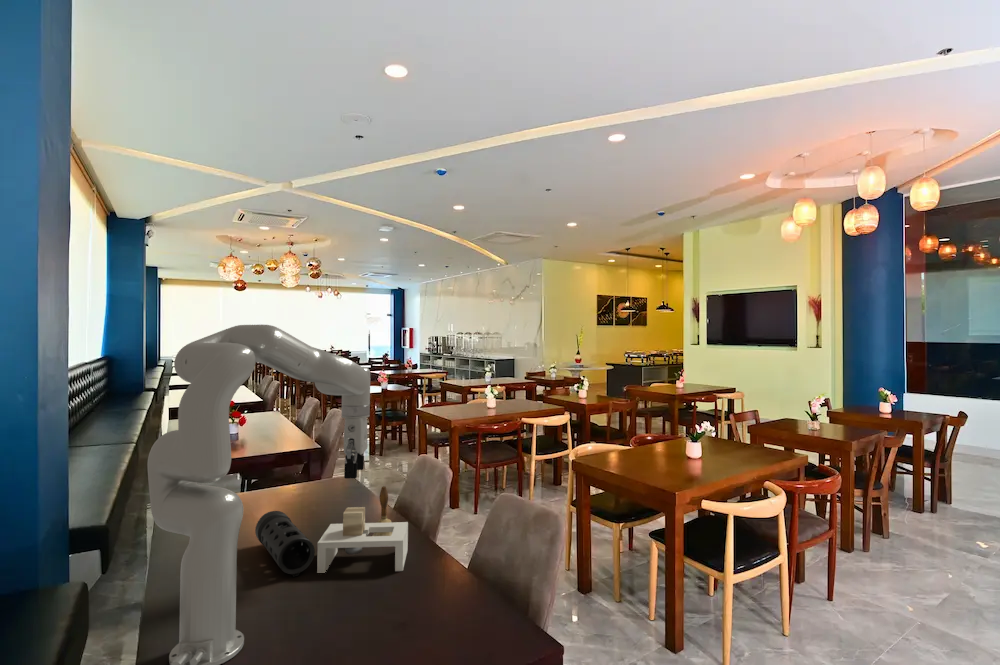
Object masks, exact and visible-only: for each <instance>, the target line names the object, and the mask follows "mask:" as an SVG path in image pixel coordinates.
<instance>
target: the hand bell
mask: <svg viewBox="0 0 1000 665" xmlns="http://www.w3.org/2000/svg"><path fill="white" fill-rule="evenodd" d="M388 501H389V494H388V489H387V486H386V485H383V486H381V489H380V493H379V503H380V506H381V507H380V508H381V511H380V512H381V513H380V514H381V516H380V519H378V520H377V522H376V523H390V522H392V520H391V519H390V518H388V514H387V505H388ZM391 535H392V532H373V534H372V536H391Z"/></svg>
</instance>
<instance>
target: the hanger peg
mask: <svg viewBox="0 0 1000 665" xmlns="http://www.w3.org/2000/svg"><path fill="white" fill-rule="evenodd" d="M365 523H366V507H365V506H362V507H360V506H356V507H355V506H354V507H346V508H345V510H344V511H343V514H342V524H343V536H355V535H362V534H363V532H364V530H365ZM362 552H363V547H355V548H345V554H346V555H357V554H360V553H362Z"/></svg>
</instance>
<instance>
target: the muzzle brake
mask: <svg viewBox="0 0 1000 665" xmlns="http://www.w3.org/2000/svg"><path fill="white" fill-rule="evenodd" d="M254 532H255V538H257V540H258V541H259V543H260V544H262V546H263V547H264V548H265V549H266V551H267V552H268V553H269V555H270V556H271V558H272V559H273V560H274V561H275V563H276V564H277V566H278V567H279V568H280V570H281V571H282V572H283V573H285V574H287V575H288V574H289V575H292V576H293V577H297V576H300V573H302V572H304V571H305V570H306V569H308V568H309V567H310V566H311V564H312V562H313V561H314V558H315V554H316V551H315V545H314V544H313V542H312V541H311V540H310V539H309V538H308V537H307V536H306V535H305V534H304V533H303V532H302V531H301V530H300V529H299V528H298V527H297V526H296V525H295V524H294V523H293V522H292V520H291V518H290V517H289V516H288V515H287V514H286V513H284V512H283V511H279V510H273V511H272V510H271V511H268V512H266V513H264V514H263V515H262V516H261V517H260V518H259V520H258V521H257V523H256V525H255V531H254Z"/></svg>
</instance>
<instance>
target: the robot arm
mask: <svg viewBox="0 0 1000 665" xmlns="http://www.w3.org/2000/svg"><path fill="white" fill-rule="evenodd" d="M256 363H258V364H262V365H265V366H267V367H268V368H271V369H273V370H275V371H278V372H280V374H281V373H282V374H284V375H286V376H288V377H290V378H292V379H295V380H299V381H304V382H311V383H314V387H315V388H316V389H317V391H318V392H320V393H321V394H324V395H328V396H341V412H340V413H341V414H340V415H341V418H343V419H345V420H344V427H343V428H344V429H343V453H344V454H345V457H344V458H345V459H344V470H343V471H344V476H343V477H344V479H357V477H358V471H362V470H364V466H365V464H364V461H365V460H364V458H365V455H364V454H365V452H366V451H367V449H368V418H369V417H370V414H371V412H370V409H371V408H370V407H371V405H370V404H371V401H370V400H371V371H370V369H369V367H365V366H361V365H359V364H358V363H356V362H355V361H353V360H351V359H348V358H346V357H343V356H341V355H339V354H334V353H331V352H329V351H325V350H323V349H320V348H317V347H313V346H311V345H309V344H307V343H305V342H303V341H302V340H301V339H298V338H296V337H295V336H293V335H292V334H290V333H288V332H286V331H285V330H283V329H281V328H280V327H277V326H274V325H271V324H238V325H234V326H231V327H229V328H225V329H222V330H220V331H218V332H214V333H212V334H210V335H207V336H205V337H202V338H199V339H196V340H194V341H191V342H189V343H187V344H185V345H184V346H182V348H181V349H180V350H179V351H178V352H177V354H176V356H175V357H174V362H173V364H174V371H175V373H176V374H177V376H178V377H179V378H181V380H182V381H185V382H187V383H189V385H188V386H187V387H186V389H185V390H184V393H183V394H182V396H181V399H180V400H179V401H180V402H179V405H178V410H177V420H178V422H177V423H178V424H177V426H178V427H177V429H175V430H170V431H168V432H165V433H163V434H162V435H160V436H159V437H158V438H157V439H156V441H155V442H154V443H153V445H152V446H151V449H150V451H149V453H148V457H147V480H148V493H149V503H150V504H149V505H150V512H151V517H152V518H153V522H154V523H155V524H156V526H157V527H158V528H159V529H161V530H163V531H167V532H169V533H175V534H179V535H184V536H187V537H189V540H188V541H189V542H188V544H187V547H186V548H185V551H184V553H183V555H182V557H181V560H180V561H181V562H180V575H179V576H180V580H179V582H180V583H179V586H180V587H179V588H180V589H179V592H180V593H179V631H178V632H179V633H178V636H179V639H178V640H179V641H178V643H177V644H176V645H174V647H173V648H172V649H171V651H170V652H169V655H168V662H169V665H221V664H224V663H227V662H228V661H229V660H231V659H232V658H234V657H235V656H236V655H237V654H239V652H240V651H241V650H242V649H243V647H244V645H245V635H244V633H242V632H241V631H240V630H238V629H236V628H237V627H236V626H237V624H236V620H237V617H236V616H237V573H238V572H237V570H238V569H237V568H238V566H237V560H238V559H237V558H238V541H239V535H240V531H241V525H242V523H243V522H242V521H243V517H244V505H243V504H244V503H243V501H242V499H241V498H240V496H239V495H238V494H237V493H236V492H235V491H233V490H231V489H228V488H225V487H221V486H214V485H208V483H209V484H210V483H214V482H215V483H216V482H218V481H220V480H222V479H223V478H225V477H226V475H227V474H228V473H229V471H230V469H231V464H232V447H231V445H232V443H231V431H230V430H231V429H230V405H231V402H232V400H233V398H234V396H235V394H236V393H237V391H238V390H239V389H240V387H241V386H242V385H243V384H244V383H245V382H246V381H247V380H248V379H249V378H250V376H251V375H252V374H253V372H254V369H255V367H256ZM199 483H201V484H199ZM202 483H204V484H202ZM206 483H207V484H206Z"/></svg>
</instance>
